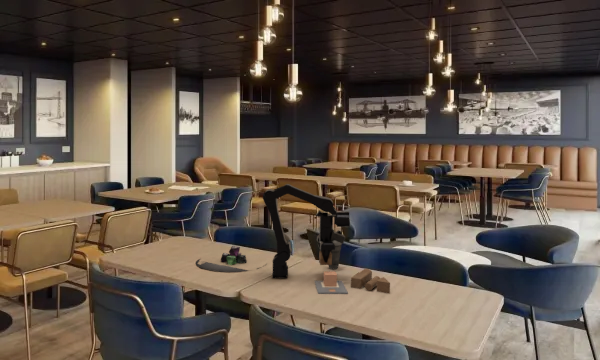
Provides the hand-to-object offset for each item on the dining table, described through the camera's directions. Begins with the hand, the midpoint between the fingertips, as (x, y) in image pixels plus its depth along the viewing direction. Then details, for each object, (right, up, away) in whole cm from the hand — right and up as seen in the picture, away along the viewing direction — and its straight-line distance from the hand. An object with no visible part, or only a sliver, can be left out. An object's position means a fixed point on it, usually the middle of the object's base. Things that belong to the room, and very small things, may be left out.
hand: (325, 261), depth 225 cm
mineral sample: (-45, -5, +24) cm, 51 cm away
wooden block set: (+21, -10, -8) cm, 25 cm away
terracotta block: (+1, -8, -11) cm, 14 cm away
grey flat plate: (+2, -9, -13) cm, 16 cm away
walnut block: (0, -1, 0) cm, 1 cm away
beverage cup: (+5, -6, +17) cm, 19 cm away
